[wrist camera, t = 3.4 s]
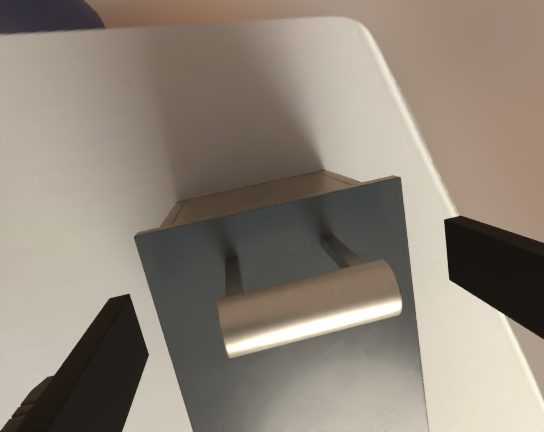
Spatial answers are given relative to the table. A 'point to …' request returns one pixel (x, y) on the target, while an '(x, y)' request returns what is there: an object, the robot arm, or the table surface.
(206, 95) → the table surface
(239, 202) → the trash can
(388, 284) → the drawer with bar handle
